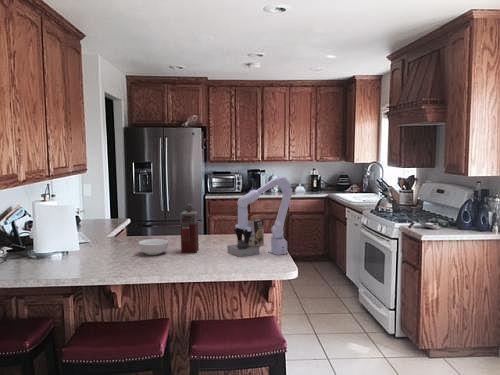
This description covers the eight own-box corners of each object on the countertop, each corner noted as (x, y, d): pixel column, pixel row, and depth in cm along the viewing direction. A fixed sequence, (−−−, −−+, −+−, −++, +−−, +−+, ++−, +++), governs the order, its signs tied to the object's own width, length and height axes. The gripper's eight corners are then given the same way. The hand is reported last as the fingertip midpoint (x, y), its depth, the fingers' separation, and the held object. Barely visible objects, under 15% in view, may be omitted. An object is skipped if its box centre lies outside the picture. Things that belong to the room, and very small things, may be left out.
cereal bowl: (161, 257, 236) (161, 245, 236) (133, 256, 240) (133, 244, 239) (172, 250, 253) (172, 239, 252) (146, 249, 256) (146, 238, 256)
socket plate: (259, 254, 242) (259, 247, 242) (239, 257, 235) (239, 250, 235) (246, 249, 254) (246, 242, 254) (227, 252, 247) (227, 245, 247)
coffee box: (255, 247, 259) (255, 221, 258) (247, 246, 263) (246, 220, 262) (264, 244, 266) (264, 219, 265) (255, 243, 270) (255, 218, 269)
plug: (248, 250, 244) (248, 240, 244) (241, 251, 241) (241, 241, 241) (244, 248, 247) (244, 239, 247) (237, 250, 245) (237, 240, 244)
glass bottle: (180, 254, 244) (179, 205, 242) (183, 249, 255) (182, 203, 253) (195, 254, 244) (194, 205, 242) (198, 249, 255) (197, 203, 253)
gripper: (230, 217, 247) (230, 240, 248) (243, 220, 235) (243, 245, 236) (240, 216, 251) (241, 239, 252) (254, 219, 238) (254, 243, 240)
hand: (243, 242), depth 244 cm, fingers open, 7 cm apart
